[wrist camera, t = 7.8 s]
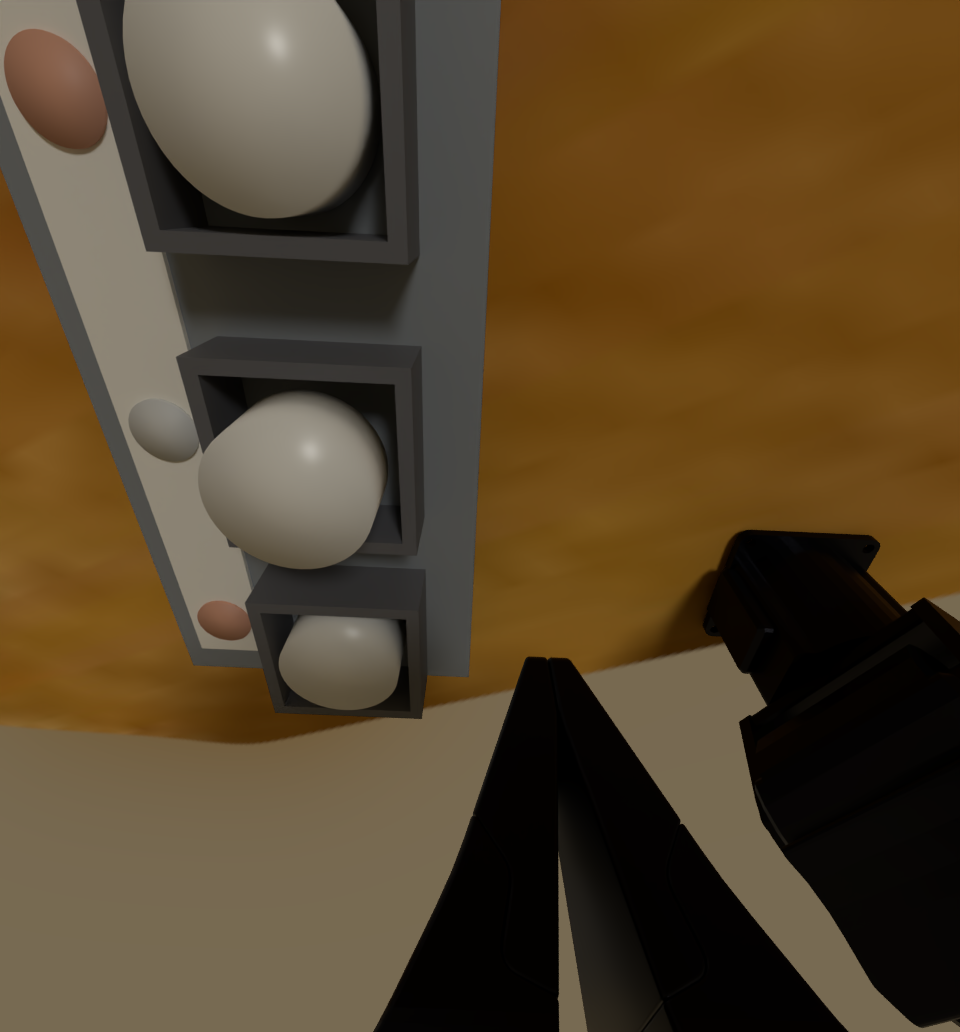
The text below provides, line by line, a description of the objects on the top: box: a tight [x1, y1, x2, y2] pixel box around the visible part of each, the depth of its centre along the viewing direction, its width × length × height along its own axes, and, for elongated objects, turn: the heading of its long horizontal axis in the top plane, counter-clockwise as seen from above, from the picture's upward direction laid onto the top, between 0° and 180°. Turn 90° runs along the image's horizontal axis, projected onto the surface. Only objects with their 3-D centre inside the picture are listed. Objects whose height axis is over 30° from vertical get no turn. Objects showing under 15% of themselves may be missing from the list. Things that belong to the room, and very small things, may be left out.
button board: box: [0, 0, 501, 719], centre depth 18 cm, size 14×26×5 cm, turn 178°
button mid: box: [198, 389, 389, 569], centre depth 15 cm, size 5×5×2 cm
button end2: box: [279, 615, 406, 710], centre depth 22 cm, size 5×5×2 cm
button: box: [123, 0, 381, 218], centre depth 12 cm, size 5×5×2 cm
